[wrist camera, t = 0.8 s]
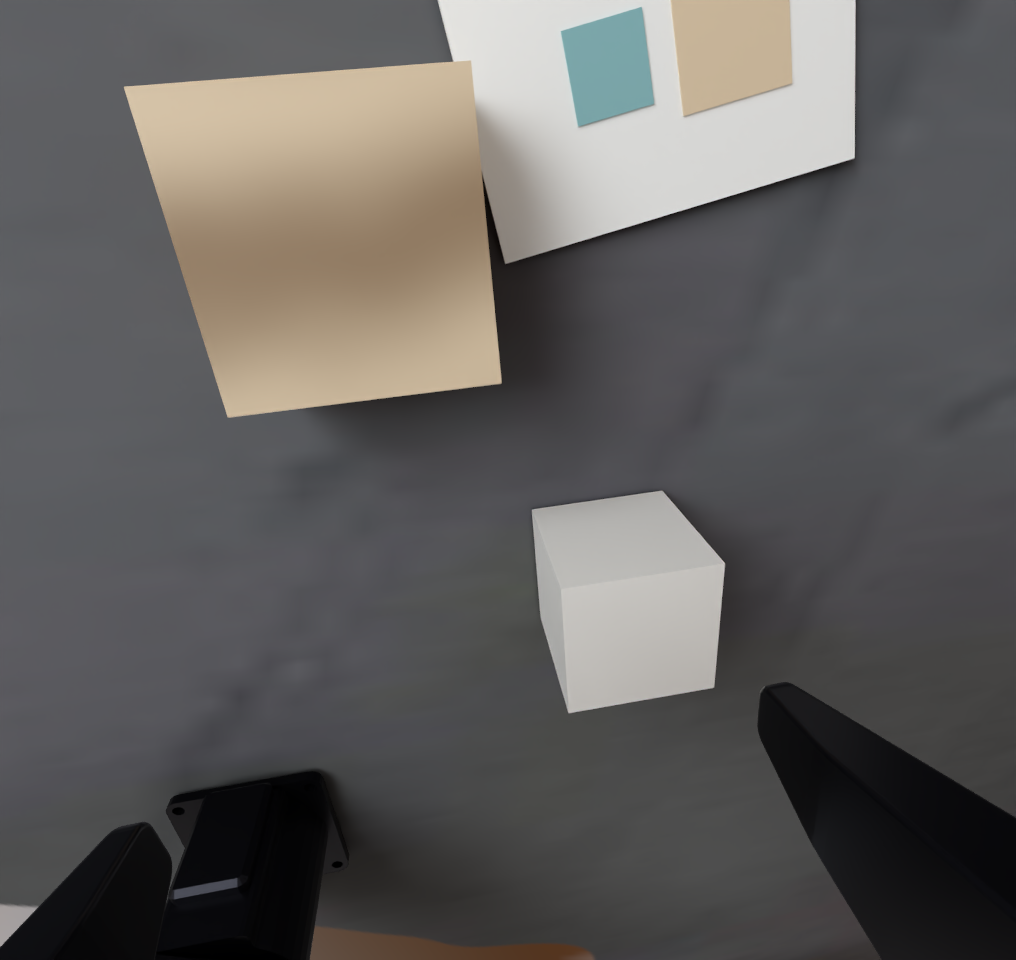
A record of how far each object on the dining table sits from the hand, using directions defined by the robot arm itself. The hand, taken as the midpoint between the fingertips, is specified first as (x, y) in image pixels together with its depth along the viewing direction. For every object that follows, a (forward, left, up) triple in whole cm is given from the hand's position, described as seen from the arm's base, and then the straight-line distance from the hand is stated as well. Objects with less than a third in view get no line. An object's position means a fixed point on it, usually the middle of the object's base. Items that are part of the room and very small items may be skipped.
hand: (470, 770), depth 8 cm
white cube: (-5, -5, -13) cm, 15 cm away
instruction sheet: (+11, -7, -13) cm, 18 cm away
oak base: (+7, +2, -13) cm, 15 cm away
